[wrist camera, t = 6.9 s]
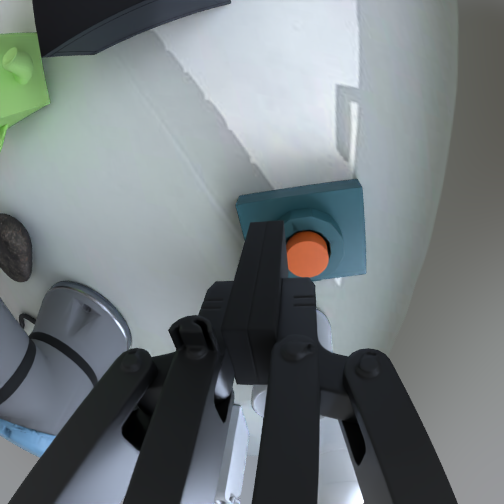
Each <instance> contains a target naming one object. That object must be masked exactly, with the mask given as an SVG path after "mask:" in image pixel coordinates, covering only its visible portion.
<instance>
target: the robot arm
mask: <svg viewBox="0 0 504 504" xmlns="http://www.w3.org/2000/svg"><path fill="white" fill-rule="evenodd" d="M23 318H25V319H27V320H29V321H30V322H32V323H33V324H35V326H34V329H33V331H32V333H31V334H30V335H29V336H28V335H27V333H26V332H25V331H24V330H23V329H24V321H23ZM19 322H20V324H19V323H18V322H17V320H16V319H15V318H14V316H13V315H12V314H11V312H10V311H9V309H8V308H7V306H6V305H5V304H4V302H3V301H2V299H1V298H0V436H2V437H3V438H5V439H7V440H8V441H10V442H12V443H14V444H15V445H17V446H19V447H20V448H22V449H24V450H26V451H28V452H30V453H31V454H33V455H35V456H38V457H40V459H39V460H38V462H37V463H36V464H35V466H34V467H33V469H32V470H31V471H30V473H29V474H28V476H27V477H26V478H25V480H24V481H23V483H22V484H21V486H20V487H19V488H18V490H17V491H16V493H15V494H14V496H13V497H12V498H11V500H10V501H9V503H8V504H120V503H121V501H122V500H123V498H124V497H125V498H124V502H123V504H214V501H215V496H216V491H217V486H218V481H219V476H220V470H221V465H222V460H223V455H224V450H225V445H226V440H227V434H228V429H229V424H230V419H231V413H232V408H233V403H234V391H233V388H232V386H233V381H234V376H235V380H236V383H237V384H242V385H267V394H266V402H265V410H264V418H263V426H262V434H261V441H260V449H259V456H258V464H257V471H256V478H255V485H254V492H253V498H252V504H317V500H318V478H319V442H320V415H321V416H325V417H329V418H333V419H337V420H338V422H339V425H340V428H341V431H342V434H343V437H344V440H345V443H346V446H347V449H348V453H349V456H350V459H351V462H352V465H353V468H354V471H355V475H356V478H357V481H358V484H359V487H360V491H361V494H362V497H363V500H364V504H458V503H457V501H456V498H455V495H454V493H453V491H452V488H451V486H450V483H449V481H448V479H447V476H446V474H445V472H444V469H443V467H442V465H441V462H440V460H439V458H438V456H437V454H436V452H435V449H434V447H433V445H432V443H431V441H430V438H429V436H428V434H427V432H426V430H425V428H424V426H423V423H422V421H421V419H420V417H419V415H418V413H417V411H416V409H415V407H414V405H413V403H412V401H411V399H410V397H409V395H408V393H407V391H406V389H405V387H404V385H403V383H402V382H401V379H400V378H399V376H398V374H397V372H396V370H395V368H394V366H393V364H392V363H391V361H390V359H389V358H388V357H387V356H386V354H384V353H382V352H380V351H379V350H375V349H369V348H368V349H360V350H358V351H355V352H353V353H352V354H351V355H350V356H349V357H348V356H343V355H338V354H335V353H332V352H330V351H328V350H326V349H325V348H324V347H323V346H322V345H321V343H320V342H319V340H318V334H317V312H316V294H315V285H314V283H313V282H312V281H311V279H310V278H309V277H298V278H288V261H287V249H286V239H285V228H284V220H280V221H264V222H250V225H249V229H248V232H247V236H246V239H245V243H244V246H243V250H242V253H241V257H240V260H239V264H238V268H237V271H236V275H235V278H234V281H216V282H215V283H214V284H213V285H212V286H211V287H210V288H209V289H208V290H207V293H206V295H205V298H204V301H203V304H202V306H201V309H200V312H199V315H198V316H197V315H193V316H186V317H184V318H181V319H179V320H178V321H176V322H175V323H174V324H172V326H171V327H170V329H169V330H168V331H169V333H170V336H171V338H172V340H173V343H174V345H175V347H176V351H175V352H173V353H169V354H165V355H160V356H155V357H151V356H150V354H149V352H147V351H146V350H144V349H140V348H134V349H129V348H130V346H131V341H132V338H131V333H130V329H129V327H128V325H127V323H126V321H125V320H124V318H123V317H122V315H121V314H120V313H119V312H118V310H117V309H116V308H115V307H114V306H113V305H112V304H111V303H110V302H109V301H108V300H106V299H105V298H104V297H103V296H101V295H100V294H99V293H97V292H96V291H94V290H92V289H90V288H88V287H86V286H84V285H82V284H79V283H75V282H70V281H62V282H58V283H56V284H54V285H53V286H52V287H51V289H50V290H49V291H48V292H47V293H46V295H45V296H44V299H43V301H42V305H41V307H40V310H39V313H38V316H37V319H34V318H32V317H31V316H29V315H27V314H24V313H22V314H20V315H19Z"/></svg>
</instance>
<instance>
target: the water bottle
mask: <svg viewBox="0 0 504 504" xmlns="http://www.w3.org/2000/svg"><path fill="white" fill-rule="evenodd" d="M363 502H364V500H363V497H362V494H361V491H360V487H359V484H358V481H357V478H356V475H355V471H354V468H353V465H352V462H351V459H350V456H349V453H348V449H347V446H346V443H345V440H344V437H343V434H342V431H341V428H340V425H339V422H338V420H337V419H333V418H329V417H324V418H322V419H320V442H319V478H318V500H317V504H363Z"/></svg>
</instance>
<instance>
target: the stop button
mask: <svg viewBox="0 0 504 504" xmlns="http://www.w3.org/2000/svg"><path fill="white" fill-rule="evenodd" d="M286 249H287V261H288V269H289V270H290V272H292V273H293V274H294V275H296V276H299V277H309V278H310V277H314V276H317V275H319V274H320V273H322V272H323V271H324V270H325V268H326V267H327V265H328V261H329V256H328V250H327V245H326V242H325V240H324V239H323V238H322V237H321V236H320V235H319V234H317V233H315V232H311V231H302V232H299V233H296V234H295V235H293V236H292V237H291V238H290V239H289V240H288V242H287V244H286Z"/></svg>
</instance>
